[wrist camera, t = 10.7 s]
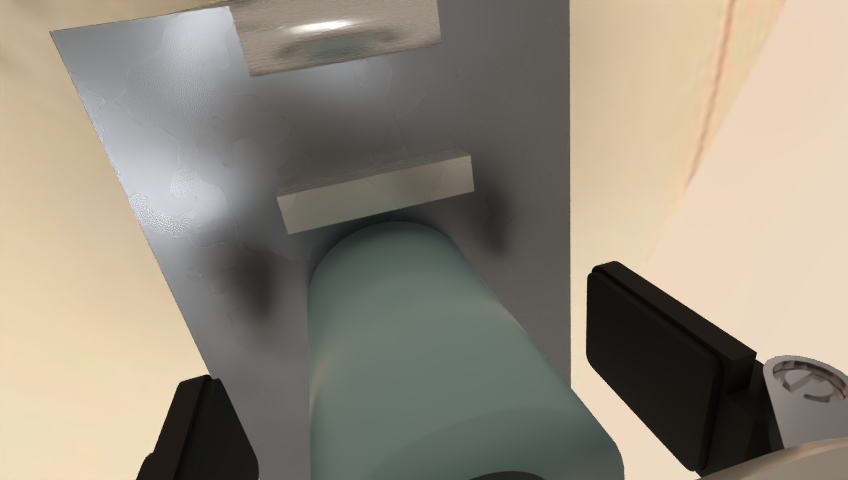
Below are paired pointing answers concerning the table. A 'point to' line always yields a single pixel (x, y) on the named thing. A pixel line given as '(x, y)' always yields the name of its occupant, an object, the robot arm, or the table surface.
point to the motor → (332, 165)
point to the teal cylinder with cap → (434, 373)
